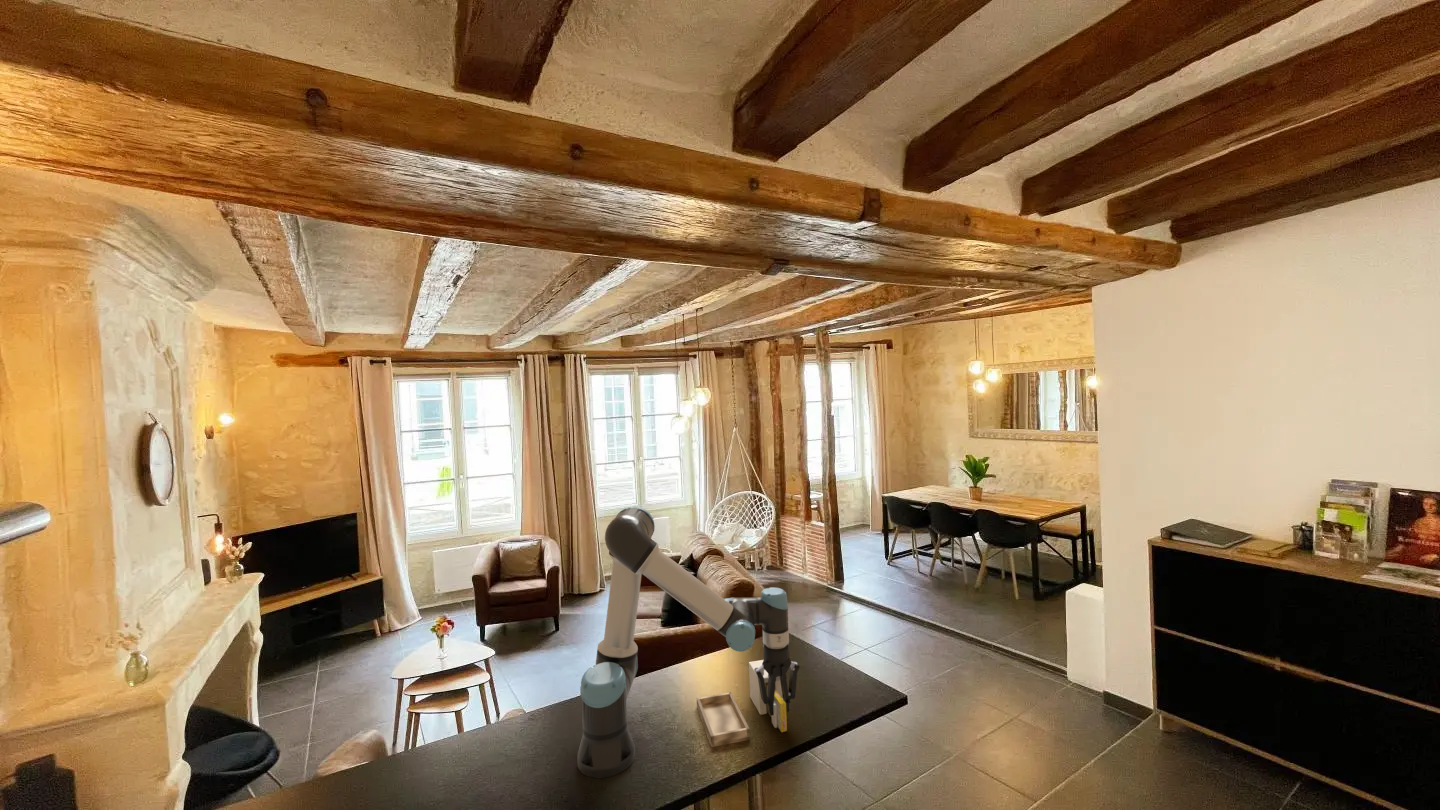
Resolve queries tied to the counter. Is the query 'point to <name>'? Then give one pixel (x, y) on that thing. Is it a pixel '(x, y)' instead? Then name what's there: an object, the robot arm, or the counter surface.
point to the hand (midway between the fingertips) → (779, 723)
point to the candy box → (779, 710)
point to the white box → (755, 688)
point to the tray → (722, 719)
